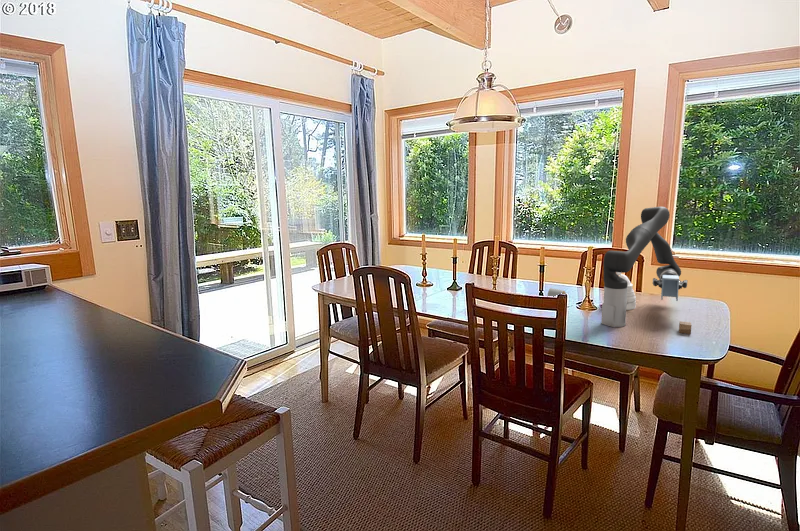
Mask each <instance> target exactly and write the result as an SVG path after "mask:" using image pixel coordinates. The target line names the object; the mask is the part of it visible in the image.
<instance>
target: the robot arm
mask: <svg viewBox="0 0 800 531" xmlns="http://www.w3.org/2000/svg"><path fill="white" fill-rule="evenodd" d="M669 219H670V210H669V209H668V208H667V207H665V206H655V207H654V206H651V207H646V208H644V209H642V211H641V213H640V220H641V224H638V225H637V226H635V227H633V229H631V230H630V232H629V233H628V234H627V236H626V237H625V245H626V247H627V249H628V250H627V251H622V250H607V251H606V252H605V253H604V256H603V264H602V265H603V284H604V285H603V286H604V287H603V303H602V304H601V317H600V318H601V323H600V324H602V325H604V326H608V327H612V328H620V327H625V326H626V324H627V323H626V319H627V310H626V305H627V286H628V283H627V281H626V280H624V279H622V278H621V277H619V276H620V275H617V274H616V272H621V274H623V273H624V274H625V273H629V271H631V269H632V268H633V267H634V264H635V263H636V262H637V260H638V258H639V256H640V254H641V253H642V252H643V251H644V249H645V248H646V247H647V246H648V245H649V244H650V243H651V245H652V248H653V251H654V254H655V258H656V261H657V263H658V264H661V265H662V266H659V267H657V268H656V272H655V273H656V276H657V278H656V277H653V278H652V285H653V286H654V287H657V286H658V288H659V289H662V275H676V276H679V277H681V275H682V270H681V267H680V265H679V264H678V263H677V262H676V261H675V258H674V255H673V251H672V248H671V246H670V244H669V243H668V241H667V240H666V239H665V238H663V236H661V234H659V231H660V230H661V229H663V228H664V227H665V226H666V224H668V221H669ZM687 287H688V280H687V279H684V280H681V279H679V290H681V289H687Z"/></svg>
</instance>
